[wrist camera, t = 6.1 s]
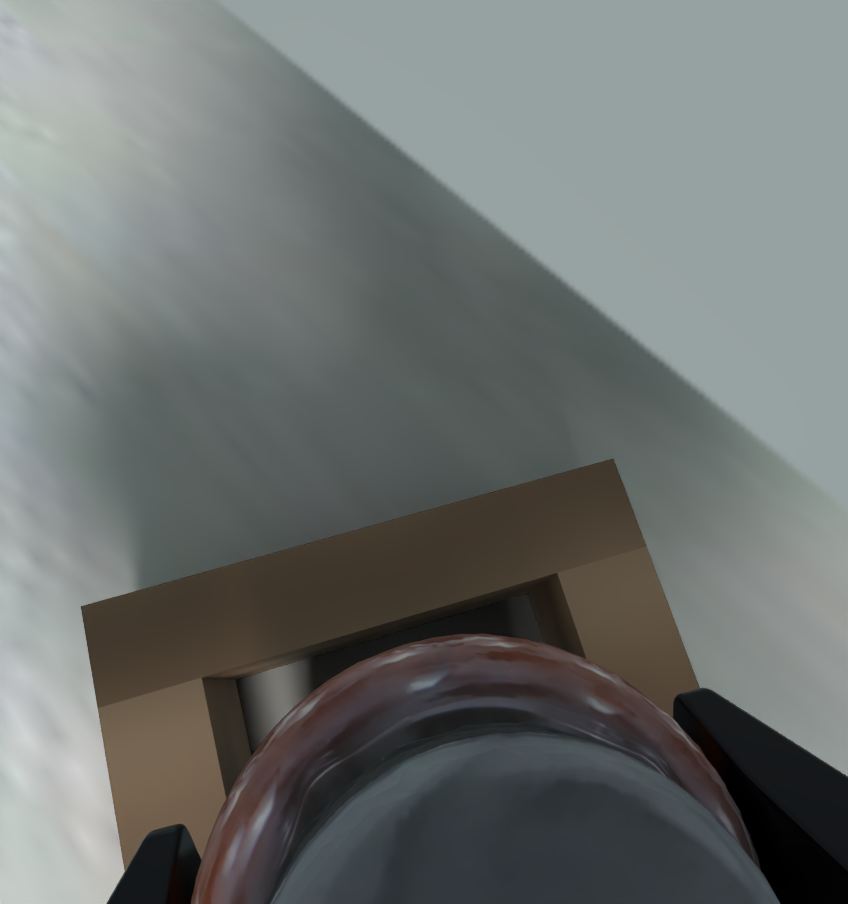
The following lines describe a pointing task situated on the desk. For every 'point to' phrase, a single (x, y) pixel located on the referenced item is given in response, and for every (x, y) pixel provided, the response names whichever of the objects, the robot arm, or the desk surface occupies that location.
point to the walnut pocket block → (362, 626)
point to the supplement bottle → (479, 791)
